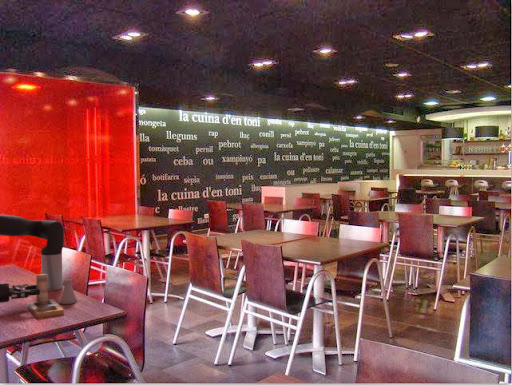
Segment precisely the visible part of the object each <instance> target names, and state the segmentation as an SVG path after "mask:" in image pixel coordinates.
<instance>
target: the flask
mask: <svg viewBox="0 0 512 385" xmlns="http://www.w3.org/2000/svg"><path fill="white" fill-rule="evenodd" d="M72 281H73V279H71V278H68V279H67V278H66V279H64V280H63V283H64V285H63V286H64V287H63V291H62V294H61V298H60V299H59V305H60V304H62V305H72V304H74V303H77V302H78V298H77V296H76V293H75V291H74V289H73V285H72Z"/></svg>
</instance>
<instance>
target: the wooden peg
mask: <svg viewBox="0 0 512 385" xmlns="http://www.w3.org/2000/svg"><path fill="white" fill-rule="evenodd" d="M35 277H36V278H35V280H36V281H35V282H36V283H35V285H37V289H39V290H40V294H39V295H36V301H37V306H41V305H48V300H49V291H48V274H42V273H40V274H39V273H38V274H36V275H35Z"/></svg>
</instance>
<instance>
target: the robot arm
mask: <svg viewBox="0 0 512 385" xmlns="http://www.w3.org/2000/svg"><path fill="white" fill-rule="evenodd" d="M64 230H65V229H64V226H63V223H61V222H60V221H58V220H49V219H46V220H32V219H27V218H25V217H22V216H18V215H12V214H0V236H3V237H4V236H5V237H24V236H26V237H27V236H31V237H35V238H39V239H43V240H46V245H45V246H44V247H42V248H41V250H40V258H41V274H48V292H52V291H58V290H62V289H64V287H63V286H64V285H63V284H64V281H63V248H64V239H65V238H64V237H65V236H64V235H65V233H64ZM11 286H12V287H10V285H9V283H8V282H7V283H0V303H8V302H9V301H10V298H11V300H15V299H16V300H17V299H28V298H29V297H31V296H37V295H39V294H40V290H39V289H37V285H36V284H31V285H30V284H28V283H24V284H15V285H11Z"/></svg>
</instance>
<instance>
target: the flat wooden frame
mask: <svg viewBox="0 0 512 385" xmlns="http://www.w3.org/2000/svg"><path fill="white" fill-rule="evenodd" d="M27 309H29V311H30V312H31V313H32V315H33V316H34V317H35V318H36V319H37V320H38V319H45V318H51V317H56V316H57V317H58V316H62V315H65V311H64V310H65V309H64V308H63V307H62V306H61V305H60V304H59V303H57V302H56V300H54V299H53V298H50V299H49V298H48V305H41V306H37V300H36V301H31V302H29V301H28V302H27Z"/></svg>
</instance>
